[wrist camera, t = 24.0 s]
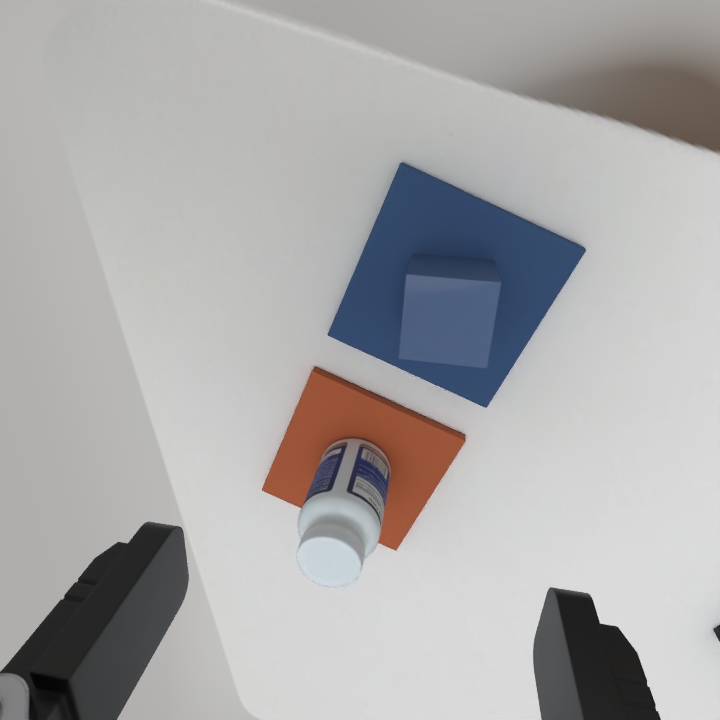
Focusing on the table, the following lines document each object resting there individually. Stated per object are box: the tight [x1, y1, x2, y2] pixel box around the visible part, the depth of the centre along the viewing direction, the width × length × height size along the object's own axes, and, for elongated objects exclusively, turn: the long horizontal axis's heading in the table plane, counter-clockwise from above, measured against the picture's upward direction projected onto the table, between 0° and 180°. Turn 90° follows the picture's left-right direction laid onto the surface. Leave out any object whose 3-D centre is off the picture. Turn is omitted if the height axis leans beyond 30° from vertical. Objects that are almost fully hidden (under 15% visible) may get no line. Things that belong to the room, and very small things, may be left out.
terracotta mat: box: [262, 367, 465, 550], centre depth 40 cm, size 12×12×1 cm
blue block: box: [399, 254, 501, 368], centre depth 30 cm, size 5×5×5 cm
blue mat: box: [328, 163, 586, 408], centre depth 33 cm, size 12×12×1 cm
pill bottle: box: [296, 438, 391, 587], centre depth 35 cm, size 5×5×10 cm
